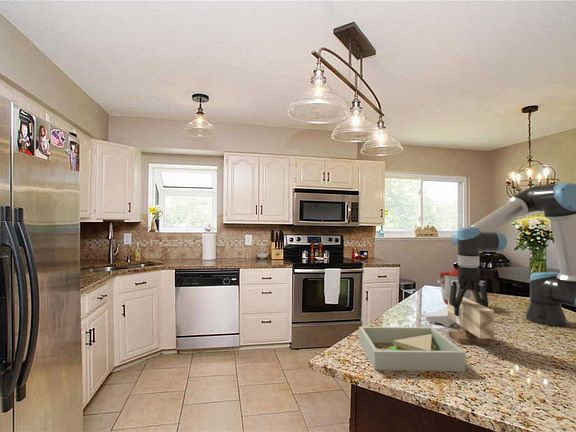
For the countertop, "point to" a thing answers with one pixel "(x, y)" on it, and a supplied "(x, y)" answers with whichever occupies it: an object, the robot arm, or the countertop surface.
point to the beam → (474, 318)
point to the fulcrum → (467, 337)
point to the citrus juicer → (446, 286)
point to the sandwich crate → (440, 360)
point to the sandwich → (415, 343)
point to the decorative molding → (440, 317)
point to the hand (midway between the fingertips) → (468, 323)
